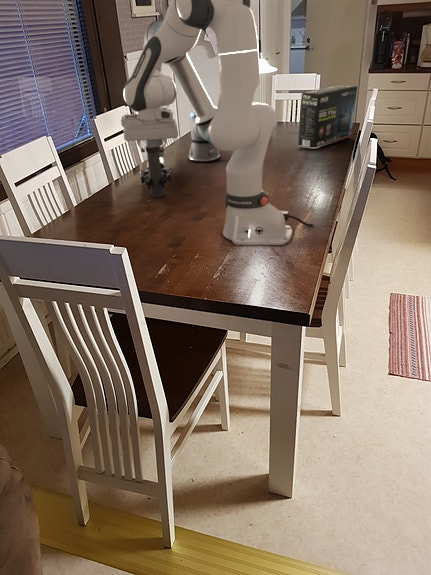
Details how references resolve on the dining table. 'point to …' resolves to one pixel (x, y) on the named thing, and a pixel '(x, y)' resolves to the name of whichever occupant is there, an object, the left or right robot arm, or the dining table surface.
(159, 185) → the dark grey cylinder
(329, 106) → the router box
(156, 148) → the lid
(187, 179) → the dining table surface
